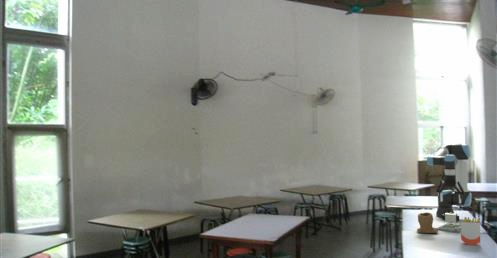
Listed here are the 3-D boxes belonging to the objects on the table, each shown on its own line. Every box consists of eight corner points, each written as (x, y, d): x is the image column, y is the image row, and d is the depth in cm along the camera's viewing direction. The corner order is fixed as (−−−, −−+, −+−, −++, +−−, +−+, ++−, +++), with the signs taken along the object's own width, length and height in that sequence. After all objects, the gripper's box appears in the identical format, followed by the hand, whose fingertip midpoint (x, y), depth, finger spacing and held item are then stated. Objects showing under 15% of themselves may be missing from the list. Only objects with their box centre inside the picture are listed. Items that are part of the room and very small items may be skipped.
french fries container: (461, 242, 281) (460, 216, 281) (479, 243, 277) (478, 216, 277) (462, 244, 276) (461, 217, 277) (480, 245, 273) (479, 218, 273)
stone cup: (417, 234, 306) (417, 213, 306) (416, 230, 317) (415, 211, 317) (440, 235, 301) (439, 214, 301) (437, 231, 312) (437, 211, 313)
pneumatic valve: (459, 229, 315) (458, 213, 315) (442, 227, 320) (442, 212, 321) (459, 227, 319) (459, 212, 320) (442, 226, 325) (442, 211, 325)
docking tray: (444, 226, 331) (444, 222, 331) (466, 228, 320) (466, 225, 320) (436, 229, 319) (436, 226, 319) (459, 232, 308) (458, 229, 308)
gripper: (431, 174, 327) (432, 201, 326) (465, 176, 309) (466, 204, 309) (435, 173, 332) (435, 200, 332) (469, 175, 315) (469, 203, 315)
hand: (450, 202), depth 320 cm, fingers open, 13 cm apart
